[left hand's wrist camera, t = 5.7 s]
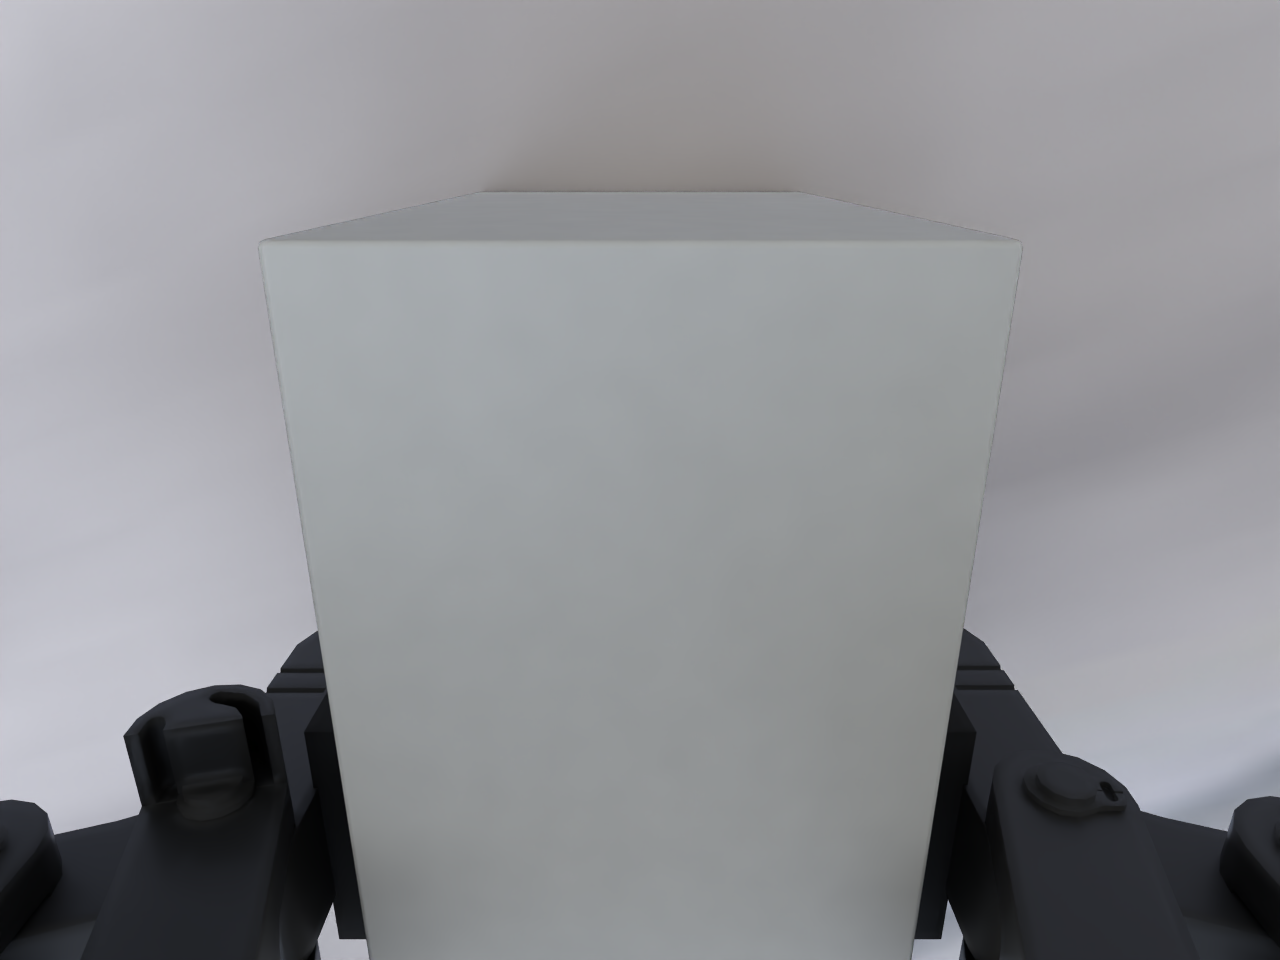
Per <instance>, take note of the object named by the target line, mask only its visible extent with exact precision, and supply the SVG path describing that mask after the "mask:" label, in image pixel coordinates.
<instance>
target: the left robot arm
mask: <svg viewBox="0 0 1280 960" xmlns="http://www.w3.org/2000/svg"><path fill="white" fill-rule="evenodd" d="M123 737H124V740H125V744H126V748H127V752H128V755H129V759H130V763H131V767H132V770H133V774H134V778H135V782H136V786H137V789H138V793H139V797H140V801H141V804H142V808H141V810H140V813H139V815H136V816H133V817H129V818H126V819H123V820H119V821H115V822H110V823H106V824H101V825H97V826H92V827H88V828H83V829H79V830H74V831H70V832H65V833H61V834H56V835H54V833H53V830H52V827H51V824H50V821H49V817H48V814H47V813H46V812H45V811H44V810H42V809H41V808H40V807H39V806H37V805H36V804H35V803H31V802H24V801H17V800H6V801H0V960H321V957H320V951H319V946H318V941H317V940H318V937H319V935H320V932H321V930H322V927H323V925H324V923H325V920H326V918H327V915H328V913H329V910H330V908H331V906H332V903H333V905H334V910H335V916H336V922H337V928H338V934H339V939H366V934H365V927H364V921H363V914H362V908H361V902H360V895H359V889H358V882H357V876H356V870H355V863H354V857H353V851H352V844H351V838H350V831H349V825H348V819H347V812H346V806H345V800H344V793H343V787H342V780H341V774H340V768H339V761H338V755H337V749H336V742H335V736H334V729H333V723H332V717H331V710H330V704H329V698H328V691H327V685H326V678H325V672H324V666H323V659H322V653H321V646H320V640H319V634H318V631H317V632H315V633H314V634H312V635H311V636H309V637H308V638H306V639H305V640H304V641H302V642H301V643H299V644H298V645H297V646H296V647H295V649H294V650H293V652H292V653H291V654H290V656H289V657H288V659H287V660H286V662H285V663H284V664H283V666H282V667H281V672H280V673H277V674H276V676H275V677H274V679H273V680H272V681H271V683H270V684H269V686H268V687H267V693H264V692H263V691H262V690H261V689H257V688H253V687H248V686H244V685H214V686H210V687H206V688H201V689H197V690H193V691H189V692H185V693H183V694H181V695H178V696H176V697H173V698H171V699H169V700H166V701H164V702H162V703H159V704H158V705H156V706H155V707H154V708H152V709H151V710H149V711H148V712H146V713H145V714H143V715H142V716H140V717H139V718H138V719H137V720H136V721H135V722H134V723H133V725H132V726H131V727H130V728H129V730H128V731H127V732H126V733H125V735H124V736H123ZM948 900H949V903H950V905H951V907H952V910H953V912H954V915H955V917H956V919H957V922H958V924H959V927H960V929H961V932H962V934H963V941H962V946H961V951H960V957H959V960H1280V797H1273V796H1268V797H1261V798H1254V799H1248V800H1246V801H1245V802H1244V803H1242V804H1241V805H1240V806H1239V807H1238V808H1236V809H1235V810H1234V813H1233V816H1232V820H1231V823H1230V826H1229V829H1228V832H1227V831H1222V830H1218V829H1213V828H1209V827H1204V826H1200V825H1195V824H1191V823H1186V822H1181V821H1177V820H1172V819H1168V818H1163V817H1160V816H1156V815H1153V814H1150V813H1146V812H1143V811H1140V809H1139V806H1138V804H1137V803H1136V802H1135V800H1134V799H1133V797H1132V796H1131V794H1130V793H1129V791H1128V790H1127V788H1126V787H1125V786H1124V785H1122V784H1121V783H1120V782H1119V781H1117V780H1116V779H1115V778H1114V777H1112V776H1111V775H1110V774H1108V773H1107V772H1106V771H1105V770H1103V769H1101V768H1099V767H1096V766H1094V765H1092V764H1090V763H1088V762H1086V761H1084V760H1082V759H1080V758H1077V757H1073V756H1070V755H1066V754H1062V752H1061V751H1060V749H1059V748H1058V746H1057V745H1056V744H1055V742H1054V741H1053V739H1052V738H1051V737H1050V735H1049V734H1048V732H1047V731H1046V729H1045V728H1044V727H1043V725H1042V724H1041V722H1040V721H1039V720H1038V718H1037V717H1036V715H1035V714H1034V713H1033V711H1032V710H1031V708H1030V707H1029V705H1028V704H1027V703H1026V701H1025V700H1024V698H1023V697H1022V696H1021V694H1020V693H1019V691H1018V690H1014V684H1013V683H1012V681H1011V680H1010V679H1009V677H1008V676H1007V674H1006V673H1005V671H1004V670H1001V669H1000V664H999V663H998V662H997V660H996V659H995V657H994V656H993V655H992V653H991V652H990V650H989V649H988V647H987V646H986V645H985V643H984V642H983V641H981V640H980V639H978V638H977V637H975V636H974V635H973V634H971V633H970V632H968V631H967V630H965V629H964V628H963V632H962V639H961V645H960V651H959V658H958V664H957V671H956V677H955V683H954V690H953V696H952V702H951V709H950V715H949V721H948V728H947V734H946V741H945V747H944V753H943V760H942V766H941V772H940V779H939V785H938V791H937V798H936V804H935V811H934V817H933V823H932V830H931V836H930V842H929V849H928V855H927V861H926V868H925V874H924V881H923V887H922V893H921V900H920V906H919V912H918V919H917V925H916V931H915V938H914V939H941V937H942V931H943V925H944V919H945V913H946V908H947V902H948Z"/></svg>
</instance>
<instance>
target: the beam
mask: <svg viewBox="0 0 1280 960" xmlns="http://www.w3.org/2000/svg"><path fill="white" fill-rule="evenodd" d="M258 251H259V257H260V264H261V270H262V277H263V283H264V289H265V296H266V302H267V308H268V315H269V321H270V328H271V334H272V340H273V347H274V353H275V359H276V366H277V372H278V379H279V385H280V391H281V398H282V404H283V410H284V417H285V423H286V430H287V436H288V442H289V449H290V455H291V462H292V468H293V474H294V481H295V487H296V493H297V500H298V506H299V513H300V519H301V525H302V532H303V538H304V544H305V551H306V557H307V564H308V570H309V576H310V583H311V589H312V595H313V602H314V608H315V615H316V621H317V627H318V634H319V640H320V646H321V653H322V659H323V666H324V672H325V678H326V685H327V691H328V698H329V704H330V710H331V717H332V723H333V729H334V736H335V742H336V749H337V755H338V761H339V768H340V774H341V780H342V787H343V793H344V800H345V806H346V812H347V819H348V825H349V831H350V838H351V844H352V851H353V857H354V863H355V870H356V876H357V882H358V889H359V895H360V902H361V908H362V914H363V921H364V927H365V934H366V940H367V946H368V953H369V959H370V960H911V957H912V951H913V944H914V938H915V931H916V925H917V919H918V912H919V906H920V900H921V893H922V887H923V881H924V874H925V868H926V861H927V855H928V849H929V842H930V836H931V830H932V823H933V817H934V811H935V804H936V798H937V791H938V785H939V779H940V772H941V766H942V760H943V753H944V747H945V741H946V734H947V728H948V721H949V715H950V709H951V702H952V696H953V690H954V683H955V677H956V671H957V664H958V658H959V651H960V645H961V639H962V632H963V626H964V620H965V613H966V607H967V601H968V594H969V588H970V582H971V575H972V569H973V562H974V556H975V550H976V543H977V537H978V531H979V524H980V518H981V512H982V505H983V499H984V492H985V486H986V480H987V473H988V467H989V461H990V454H991V448H992V442H993V435H994V429H995V422H996V416H997V410H998V403H999V397H1000V391H1001V384H1002V378H1003V372H1004V365H1005V359H1006V352H1007V346H1008V340H1009V333H1010V327H1011V321H1012V314H1013V308H1014V302H1015V295H1016V289H1017V282H1018V276H1019V270H1020V263H1021V257H1022V251H1023V247H1022V242H1020V241H1018V240H1016V239H1012V238H1008V237H1003V236H998V235H994V234H989V233H985V232H980V231H976V230H971V229H967V228H962V227H958V226H953V225H948V224H944V223H939V222H935V221H930V220H926V219H921V218H917V217H912V216H908V215H903V214H898V213H894V212H889V211H885V210H880V209H876V208H871V207H867V206H862V205H858V204H853V203H848V202H844V201H839V200H835V199H830V198H826V197H821V196H817V195H812V194H808V193H803V192H477V193H473V194H468V195H464V196H459V197H455V198H450V199H446V200H441V201H437V202H432V203H428V204H423V205H419V206H414V207H409V208H405V209H400V210H396V211H391V212H387V213H382V214H378V215H373V216H369V217H364V218H360V219H355V220H350V221H346V222H341V223H337V224H332V225H328V226H323V227H319V228H314V229H310V230H305V231H301V232H296V233H291V234H287V235H282V236H278V237H273V238H269V239H265V240H263V241H261V242H259V246H258Z"/></svg>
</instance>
